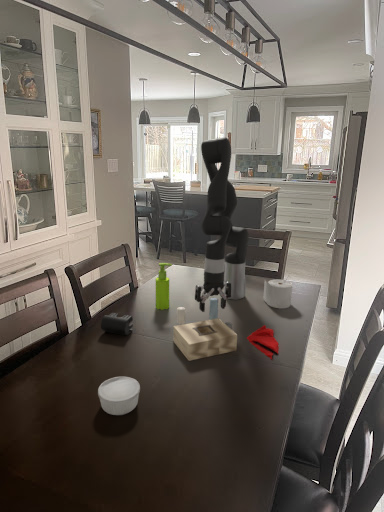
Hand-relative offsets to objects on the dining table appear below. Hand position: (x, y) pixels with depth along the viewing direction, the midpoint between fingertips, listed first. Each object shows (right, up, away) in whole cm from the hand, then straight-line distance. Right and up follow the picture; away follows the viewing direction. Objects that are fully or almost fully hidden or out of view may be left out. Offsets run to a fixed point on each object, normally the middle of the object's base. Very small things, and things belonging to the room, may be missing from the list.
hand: (212, 309), depth 146 cm
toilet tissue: (+31, -1, +27) cm, 41 cm away
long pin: (0, -8, +2) cm, 8 cm away
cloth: (+19, -11, -6) cm, 23 cm away
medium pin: (-12, -7, +3) cm, 14 cm away
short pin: (+5, -9, -4) cm, 12 cm away
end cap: (-36, -9, -3) cm, 37 cm away
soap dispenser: (-20, -2, +21) cm, 29 cm away
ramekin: (-27, -20, -42) cm, 54 cm away
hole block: (-4, -11, -11) cm, 16 cm away
